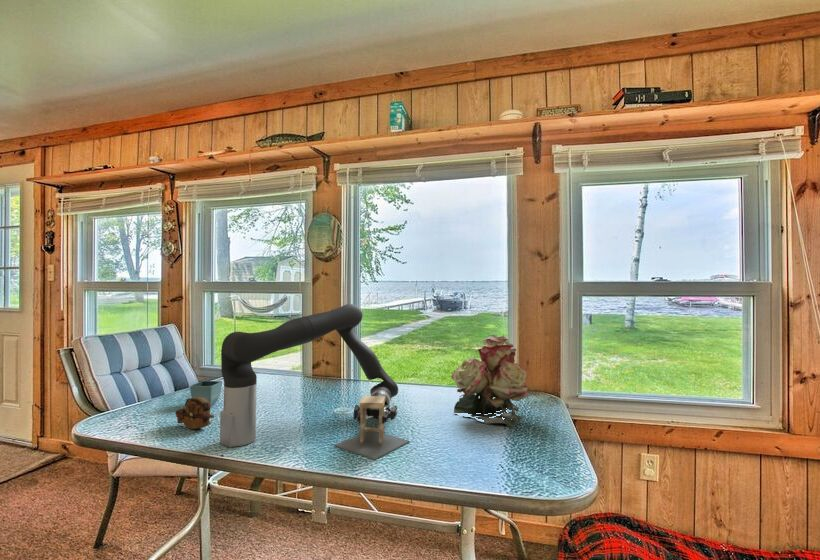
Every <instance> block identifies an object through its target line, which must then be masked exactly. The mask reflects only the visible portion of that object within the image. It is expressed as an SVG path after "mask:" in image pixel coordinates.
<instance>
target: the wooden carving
mask: <svg viewBox="0 0 820 560" xmlns="http://www.w3.org/2000/svg"><path fill="white" fill-rule="evenodd" d="M184 406H185V407H184V408H181V409H177V410H175V418H177V423H178V424H183V425H184V426H185V427H186V428H188V429H192V430H195V429H201V428H202V429H203V428H205V427H209V426H210V425H211V423H212V422H211V421H210V419H212V418H213V419H214V418H215V415H214V414H211V407H212V406H211V403H210V402H208V401H207V400H206V399H204V398H202V397H197V398H192V397H190V398H187V399H186V401H185V403H184Z"/></svg>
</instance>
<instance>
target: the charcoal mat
mask: <svg viewBox="0 0 820 560" xmlns="http://www.w3.org/2000/svg"><path fill="white" fill-rule="evenodd" d="M410 442H411V441H410V440H408V439H404V438H401V437H398V436H395V435H390V434H388V433H384V438H383V441H382V444H379V431H366V437H365V440H364V442H363V443H360V433H359V434H357V435H354V436H352V437H349V438H347V439H344V440H343V441H341V442H338V443H336V444H334V447H335V448H339V449H341V450H345V451H347V452H350V453H353V454H356V455H359V456H362V457H363V458H364V457H365V458H367V459H371V460H373V461H377V459H379V458H381V457H384V456H386V455H388V454H389V453H391V452H393V451H395V450H397V449H399V448H402V447H403V446H406V445H407V444H409V443H410Z"/></svg>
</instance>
